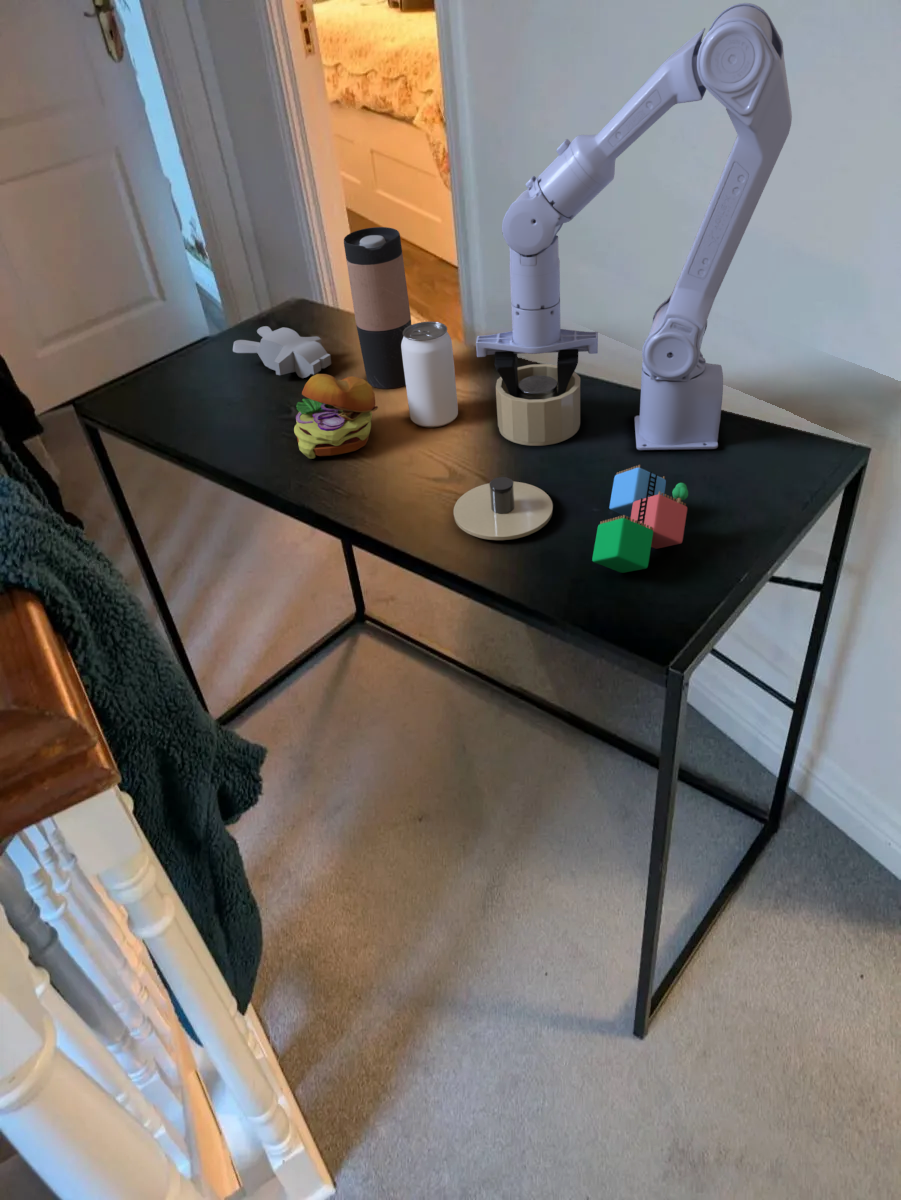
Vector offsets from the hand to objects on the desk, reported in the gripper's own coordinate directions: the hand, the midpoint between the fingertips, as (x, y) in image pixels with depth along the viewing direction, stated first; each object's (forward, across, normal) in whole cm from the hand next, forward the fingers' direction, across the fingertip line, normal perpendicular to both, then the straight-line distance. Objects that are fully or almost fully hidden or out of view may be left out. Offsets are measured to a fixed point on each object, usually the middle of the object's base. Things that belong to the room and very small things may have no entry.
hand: (538, 406), depth 113 cm
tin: (+1, 0, 0) cm, 1 cm away
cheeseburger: (+3, +26, +3) cm, 26 cm away
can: (+3, +14, -3) cm, 15 cm away
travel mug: (+3, +22, -15) cm, 27 cm away
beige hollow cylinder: (+3, 0, 0) cm, 3 cm away
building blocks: (+3, -11, +26) cm, 28 cm away
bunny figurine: (+3, +39, -20) cm, 44 cm away
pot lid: (+2, +3, +20) cm, 21 cm away
